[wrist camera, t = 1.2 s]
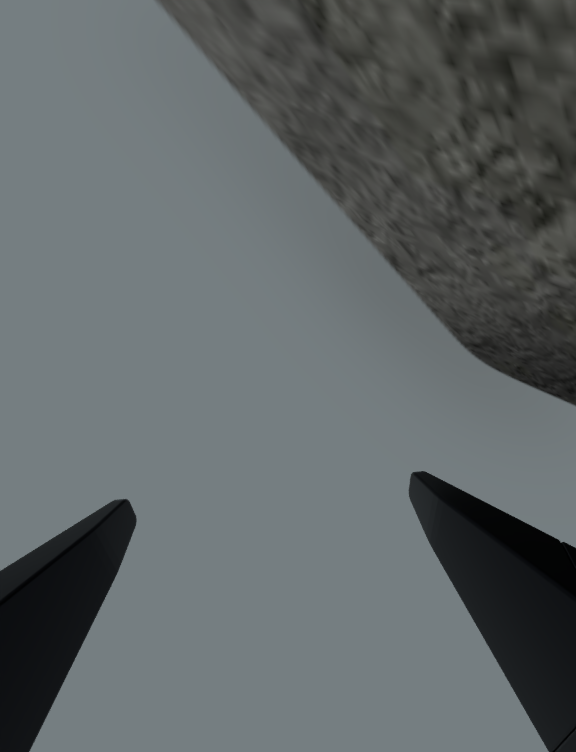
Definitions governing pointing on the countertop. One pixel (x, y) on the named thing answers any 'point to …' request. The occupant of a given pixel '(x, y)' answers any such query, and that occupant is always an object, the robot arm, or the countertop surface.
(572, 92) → the countertop surface
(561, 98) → the countertop surface
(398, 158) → the countertop surface
